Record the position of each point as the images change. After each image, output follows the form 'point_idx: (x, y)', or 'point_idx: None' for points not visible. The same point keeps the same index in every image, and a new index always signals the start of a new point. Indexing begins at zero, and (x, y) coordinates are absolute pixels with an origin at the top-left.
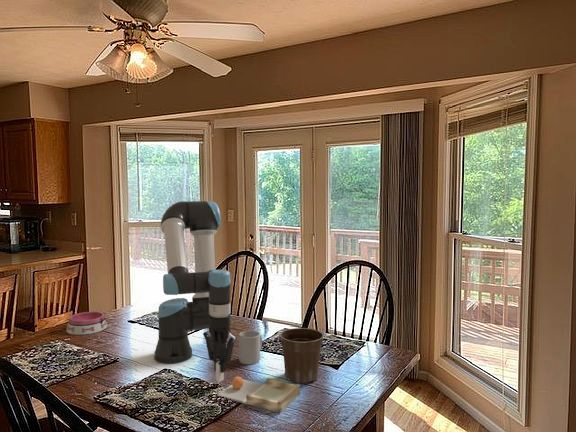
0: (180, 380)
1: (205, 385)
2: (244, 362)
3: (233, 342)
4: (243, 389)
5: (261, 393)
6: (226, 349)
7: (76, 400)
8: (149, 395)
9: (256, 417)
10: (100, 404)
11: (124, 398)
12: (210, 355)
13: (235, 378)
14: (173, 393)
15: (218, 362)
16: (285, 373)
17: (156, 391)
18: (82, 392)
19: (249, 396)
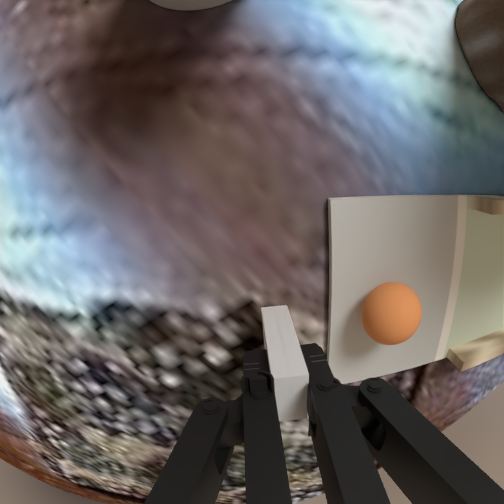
0: (83, 355)
1: (206, 344)
2: (204, 5)
3: (495, 496)
4: None
5: (474, 276)
6: (412, 498)
7: (54, 483)
8: (122, 456)
9: (478, 378)
10: (95, 491)
11: (98, 473)
12: (218, 464)
13: (398, 340)
14: (162, 433)
15: (281, 405)
16: (495, 85)
17: (110, 438)
18: (26, 462)
19: (468, 366)
